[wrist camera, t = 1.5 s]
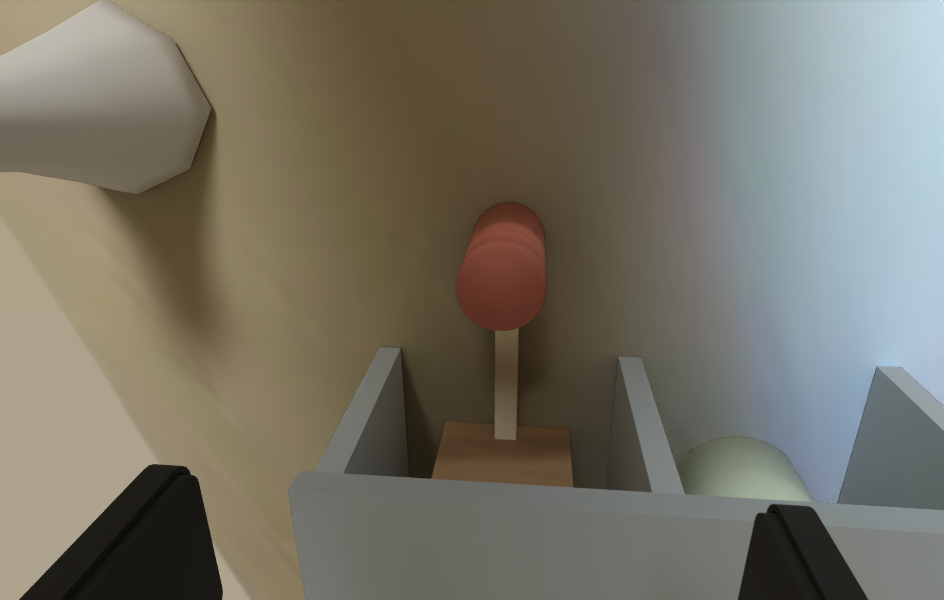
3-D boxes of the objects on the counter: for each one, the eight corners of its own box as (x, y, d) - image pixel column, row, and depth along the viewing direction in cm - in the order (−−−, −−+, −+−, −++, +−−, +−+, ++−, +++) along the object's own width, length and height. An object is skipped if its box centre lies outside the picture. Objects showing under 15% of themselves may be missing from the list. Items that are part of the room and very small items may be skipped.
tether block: (438, 201, 25) (409, 245, 20) (582, 203, 25) (595, 249, 19) (448, 516, 32) (429, 614, 26) (563, 524, 31) (567, 626, 26)
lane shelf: (369, 346, 28) (288, 491, 19) (913, 367, 26) (1117, 545, 17) (386, 541, 33) (327, 732, 24) (848, 574, 31) (980, 800, 21)
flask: (146, 221, 27) (-56, 311, 18) (11, 94, 25) (-287, 121, 16) (244, 109, 25) (70, 147, 15) (102, -39, 23) (-188, -94, 14)
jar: (675, 433, 28) (715, 545, 22) (808, 439, 28) (888, 557, 21) (661, 530, 31) (693, 658, 24) (783, 538, 30) (849, 671, 24)
